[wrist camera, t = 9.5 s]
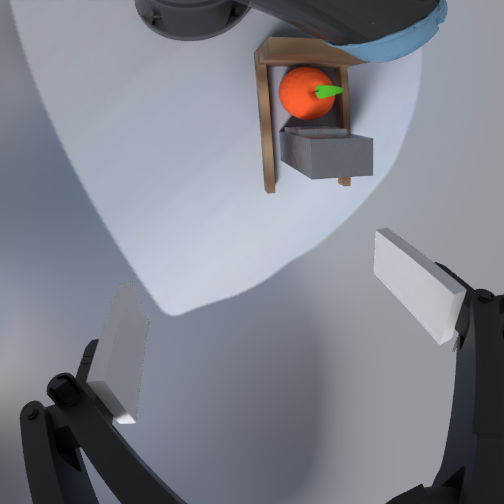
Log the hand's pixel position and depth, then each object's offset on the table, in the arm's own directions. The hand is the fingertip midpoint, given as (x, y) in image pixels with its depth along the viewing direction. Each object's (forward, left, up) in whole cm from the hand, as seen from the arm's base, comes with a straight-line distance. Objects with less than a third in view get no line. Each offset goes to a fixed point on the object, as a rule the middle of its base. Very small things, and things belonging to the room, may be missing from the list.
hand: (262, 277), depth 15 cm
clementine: (-10, +11, -27) cm, 31 cm away
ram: (-3, +11, -27) cm, 29 cm away
